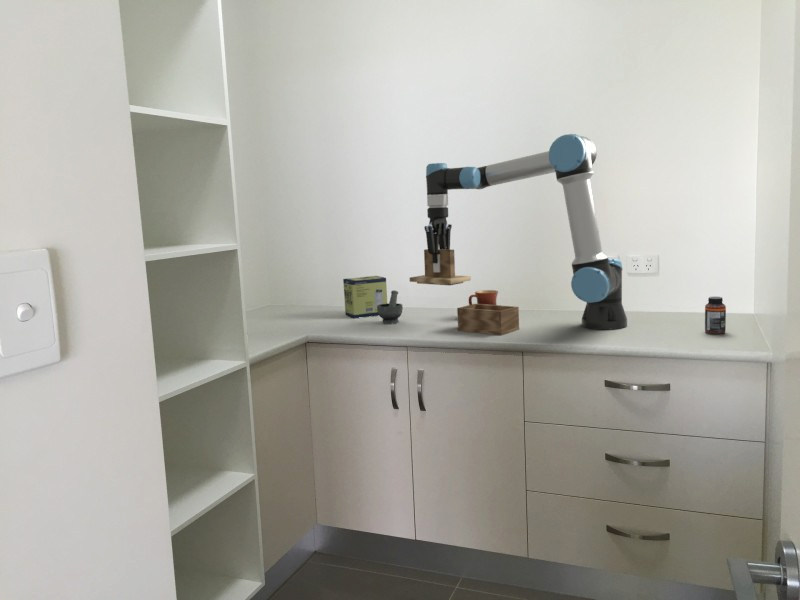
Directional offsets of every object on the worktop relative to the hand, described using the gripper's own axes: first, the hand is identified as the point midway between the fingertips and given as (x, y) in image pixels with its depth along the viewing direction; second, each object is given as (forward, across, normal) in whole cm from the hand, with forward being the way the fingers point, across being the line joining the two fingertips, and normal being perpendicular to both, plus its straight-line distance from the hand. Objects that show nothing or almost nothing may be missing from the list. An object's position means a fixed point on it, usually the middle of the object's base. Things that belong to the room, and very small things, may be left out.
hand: (439, 271), depth 247 cm
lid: (+3, 0, 0) cm, 3 cm away
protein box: (+20, -4, -43) cm, 47 cm away
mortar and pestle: (+20, +5, -21) cm, 29 cm away
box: (+20, +1, +21) cm, 29 cm away
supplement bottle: (+19, -28, +87) cm, 94 cm away
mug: (+20, -18, +6) cm, 28 cm away
